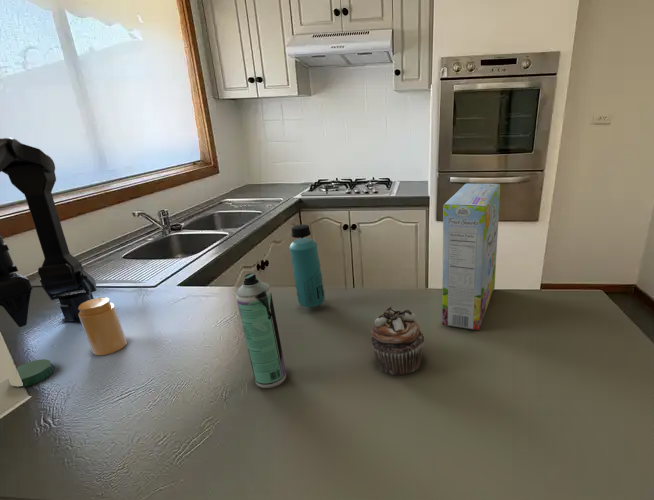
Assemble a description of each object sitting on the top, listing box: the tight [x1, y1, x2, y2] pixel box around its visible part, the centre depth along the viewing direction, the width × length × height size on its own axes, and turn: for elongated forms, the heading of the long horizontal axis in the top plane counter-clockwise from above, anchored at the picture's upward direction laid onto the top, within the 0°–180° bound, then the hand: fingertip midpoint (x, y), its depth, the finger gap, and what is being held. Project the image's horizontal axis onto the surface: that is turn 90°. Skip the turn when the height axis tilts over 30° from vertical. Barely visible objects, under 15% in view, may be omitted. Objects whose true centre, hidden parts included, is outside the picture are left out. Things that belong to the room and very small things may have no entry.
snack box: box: [441, 182, 501, 331], centre depth 90 cm, size 22×9×26 cm, turn 158°
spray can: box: [235, 272, 287, 389], centre depth 71 cm, size 6×6×20 cm
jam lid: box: [16, 358, 55, 388], centre depth 81 cm, size 7×7×2 cm
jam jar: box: [78, 296, 128, 356], centre depth 88 cm, size 6×6×10 cm
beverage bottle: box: [288, 223, 326, 308], centre depth 97 cm, size 6×7×20 cm
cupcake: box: [370, 306, 426, 376], centre depth 75 cm, size 10×10×10 cm
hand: (17, 319), depth 81 cm, fingers open, 9 cm apart
